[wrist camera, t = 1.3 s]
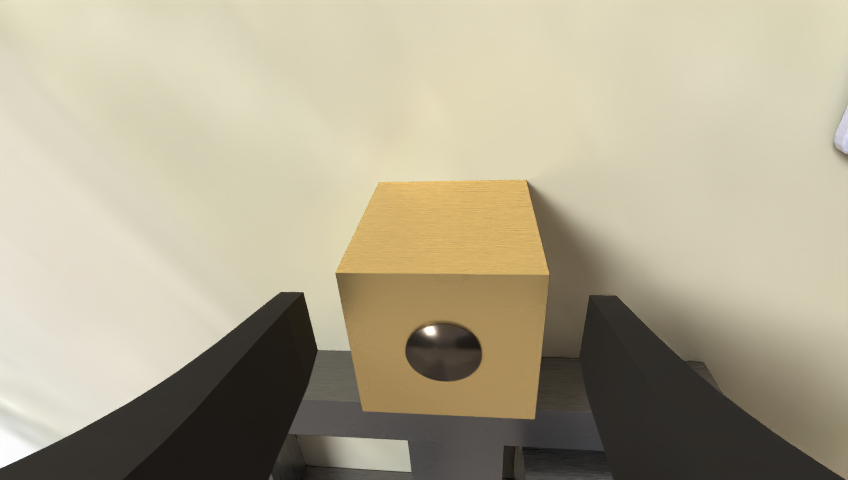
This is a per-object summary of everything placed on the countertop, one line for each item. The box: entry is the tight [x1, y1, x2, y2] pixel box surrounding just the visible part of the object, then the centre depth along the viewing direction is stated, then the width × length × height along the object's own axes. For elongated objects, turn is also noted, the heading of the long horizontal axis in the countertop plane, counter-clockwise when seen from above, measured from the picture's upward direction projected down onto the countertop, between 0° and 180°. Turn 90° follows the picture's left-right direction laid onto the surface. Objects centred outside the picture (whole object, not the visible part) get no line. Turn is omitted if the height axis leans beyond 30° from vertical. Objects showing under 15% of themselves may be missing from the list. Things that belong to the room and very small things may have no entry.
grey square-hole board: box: [269, 351, 722, 480], centre depth 19 cm, size 18×10×2 cm, turn 93°
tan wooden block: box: [336, 180, 549, 419], centre depth 12 cm, size 4×4×5 cm
